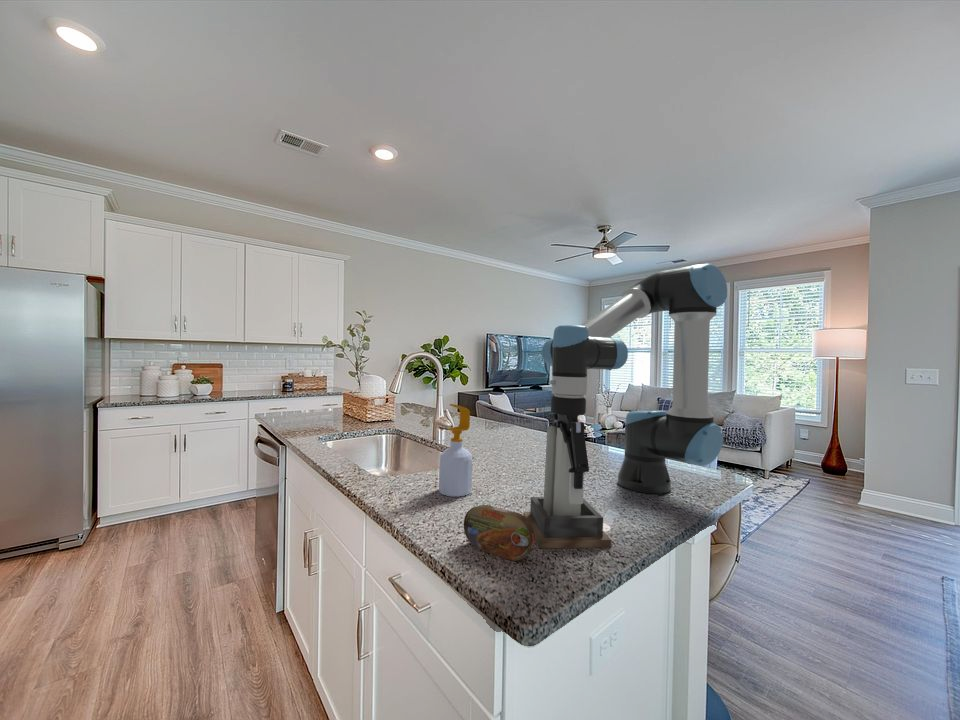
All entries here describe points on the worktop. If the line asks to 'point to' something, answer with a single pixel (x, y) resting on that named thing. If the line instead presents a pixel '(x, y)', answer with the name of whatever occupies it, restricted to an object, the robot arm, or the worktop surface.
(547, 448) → the paper towel roll
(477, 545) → the tin
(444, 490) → the soap bottle
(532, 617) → the worktop surface
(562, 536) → the open box on board
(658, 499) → the worktop surface
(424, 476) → the worktop surface
